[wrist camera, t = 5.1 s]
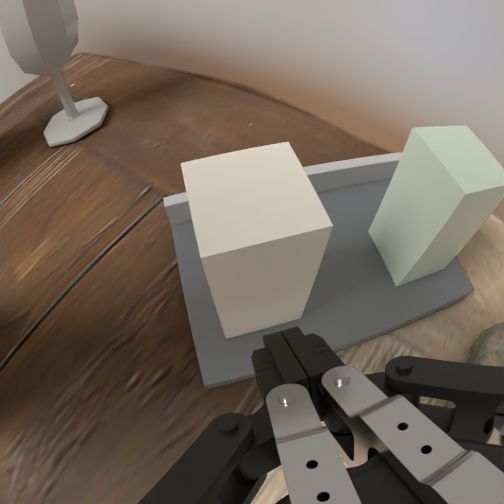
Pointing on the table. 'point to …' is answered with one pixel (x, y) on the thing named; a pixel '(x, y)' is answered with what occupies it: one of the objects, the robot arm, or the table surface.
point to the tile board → (319, 275)
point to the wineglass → (50, 60)
